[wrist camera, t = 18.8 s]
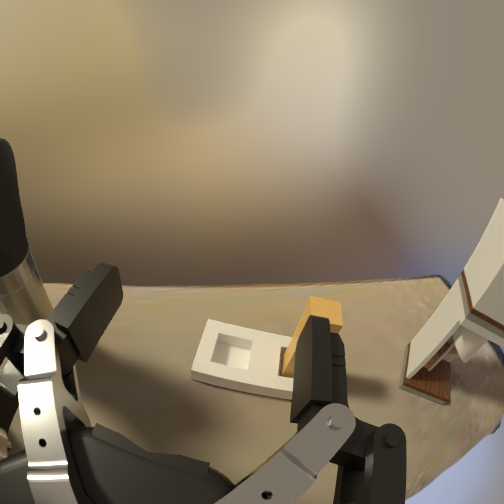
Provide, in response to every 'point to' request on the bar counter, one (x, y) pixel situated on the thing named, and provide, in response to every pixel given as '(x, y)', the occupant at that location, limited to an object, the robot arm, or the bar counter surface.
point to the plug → (313, 308)
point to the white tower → (460, 319)
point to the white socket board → (242, 360)
